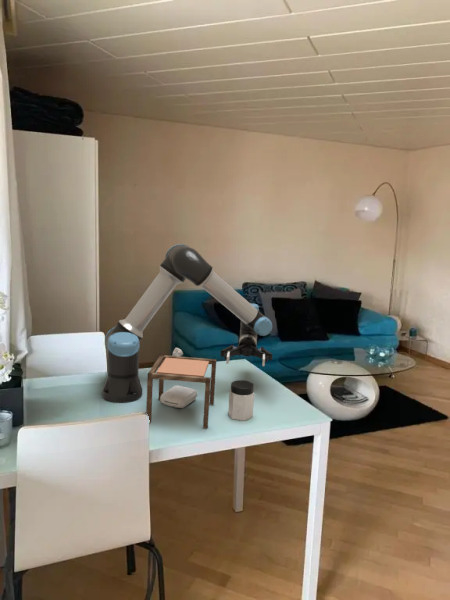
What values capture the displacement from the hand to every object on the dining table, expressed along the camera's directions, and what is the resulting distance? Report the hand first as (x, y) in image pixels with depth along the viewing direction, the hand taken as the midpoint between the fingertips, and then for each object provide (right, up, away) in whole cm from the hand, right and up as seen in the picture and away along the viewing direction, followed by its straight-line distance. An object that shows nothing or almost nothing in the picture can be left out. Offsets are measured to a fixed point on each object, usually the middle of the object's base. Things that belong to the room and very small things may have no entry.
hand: (245, 361), depth 181 cm
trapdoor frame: (-23, -17, -8) cm, 30 cm away
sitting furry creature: (-30, -10, +31) cm, 44 cm away
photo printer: (-23, -12, +6) cm, 27 cm away
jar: (-2, -19, -7) cm, 20 cm away
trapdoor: (-22, -1, -11) cm, 25 cm away
